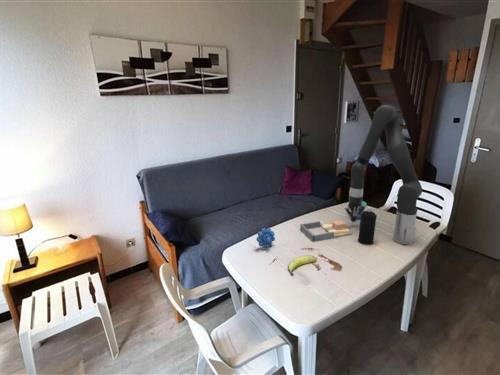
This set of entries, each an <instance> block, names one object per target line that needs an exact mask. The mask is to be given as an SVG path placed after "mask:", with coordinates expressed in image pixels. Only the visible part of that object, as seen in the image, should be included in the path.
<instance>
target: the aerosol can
mask: <svg viewBox="0 0 500 375" xmlns="http://www.w3.org/2000/svg"><path fill="white" fill-rule="evenodd" d="M360 215H361V218H360V219H359V220H360V221H359V228H358V230H359V232H358V239H357V241H358V242H359V243H360V244H362V245H365V246H370V245H373V244H375V242H374V239H375V232H376V231H375V230H376V223H377V222H376V221H377V218H378V215H377V214H376V213H375V212H374V211H372V207H370V206H367V210H365V211H364V212H362V213H361V214H360Z"/></svg>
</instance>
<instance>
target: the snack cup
mask: <svg viewBox="0 0 500 375" xmlns="http://www.w3.org/2000/svg"><path fill="white" fill-rule="evenodd" d="M361 204H362V206H364V207H365V208H364V209H363V211H362V212H364V211H366V207H367V204H368V203H367V202H366V201H363V200H362V203H361ZM362 212H361V213H362ZM361 213H360V214H361ZM360 214H359V215H357V216H356V220H358V219H359V220H360V218H361V215H360Z"/></svg>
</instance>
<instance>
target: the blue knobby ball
mask: <svg viewBox="0 0 500 375" xmlns="http://www.w3.org/2000/svg"><path fill="white" fill-rule="evenodd" d="M260 230H261V231H258V232H257V237H256V241H257V243H258V246H259V247H263V248H265V249H266V248H268V247H269V246H270V247H271V246H273V242H275V241H276V237H275V233H276V232H275V231H273V230H272V228H271V227H267V228H265V227H263V228H261V229H260Z"/></svg>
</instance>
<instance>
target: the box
mask: <svg viewBox="0 0 500 375" xmlns="http://www.w3.org/2000/svg"><path fill="white" fill-rule="evenodd" d="M320 224H321V221H320V220H319V221H314V222H307V223H301V224H300V227H299V228H300V231H301V232H302V233H303V234H304V235H305V236H306V237H307V238H309V240H311V241H312V243H314V242H315V243H316V242H319V241H323V240H324V241H325V240H329V239H330V240H331V239H334V232H329V233H328V232H325V233H319V234H318V233H317V234H313V233H312V232H311V231H310V229H311V230H312V229H317V228H321V226H320Z"/></svg>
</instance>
